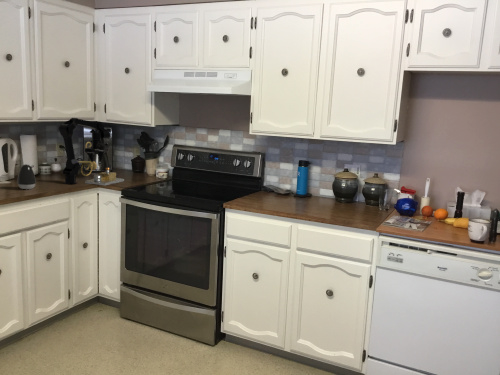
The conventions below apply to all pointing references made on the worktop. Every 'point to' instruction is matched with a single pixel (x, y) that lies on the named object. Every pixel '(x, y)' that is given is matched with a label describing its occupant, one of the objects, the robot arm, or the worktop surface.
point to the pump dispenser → (26, 177)
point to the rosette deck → (104, 179)
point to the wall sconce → (91, 164)
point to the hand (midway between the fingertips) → (96, 161)
